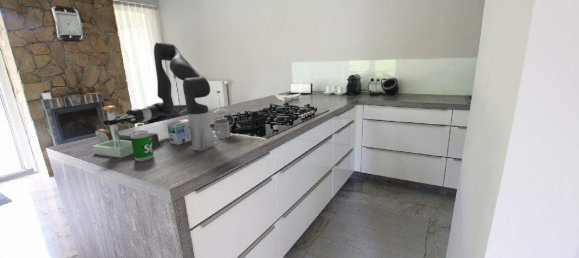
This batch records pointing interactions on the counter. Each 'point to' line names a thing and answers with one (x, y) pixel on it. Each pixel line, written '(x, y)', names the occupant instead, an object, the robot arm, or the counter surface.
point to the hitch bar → (127, 134)
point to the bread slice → (103, 135)
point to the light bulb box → (179, 131)
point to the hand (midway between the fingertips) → (106, 123)
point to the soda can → (142, 145)
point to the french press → (218, 122)
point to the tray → (114, 149)
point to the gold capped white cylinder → (113, 127)
